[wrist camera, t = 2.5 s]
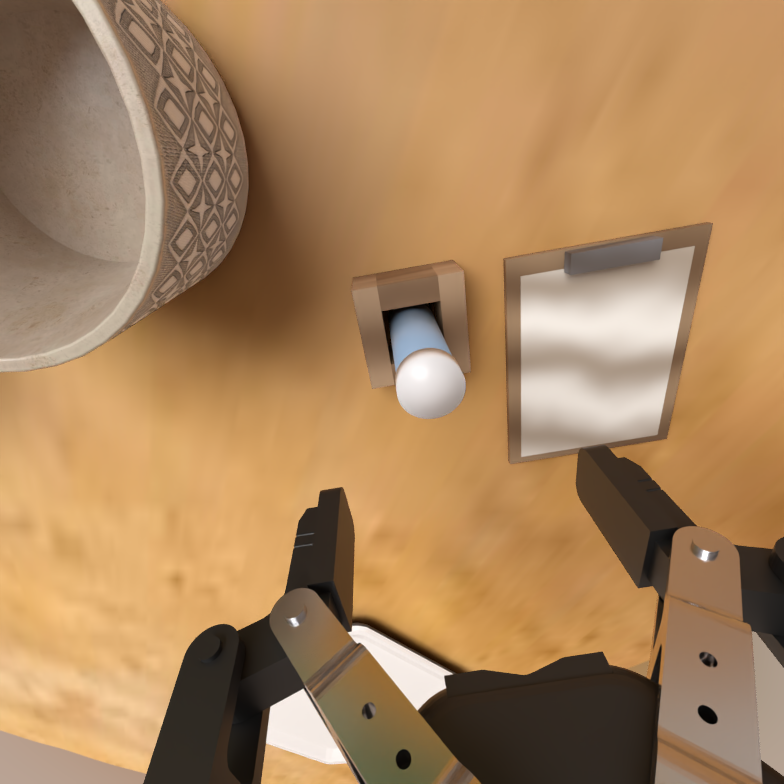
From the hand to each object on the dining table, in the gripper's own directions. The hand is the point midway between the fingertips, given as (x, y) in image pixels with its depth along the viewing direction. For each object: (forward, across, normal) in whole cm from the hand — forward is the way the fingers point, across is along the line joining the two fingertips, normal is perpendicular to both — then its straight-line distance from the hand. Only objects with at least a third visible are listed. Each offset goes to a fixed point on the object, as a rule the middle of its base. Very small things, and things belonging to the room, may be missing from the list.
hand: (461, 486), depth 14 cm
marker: (+18, 0, 0) cm, 18 cm away
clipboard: (+18, -14, +6) cm, 24 cm away
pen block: (+18, 0, 0) cm, 18 cm away
